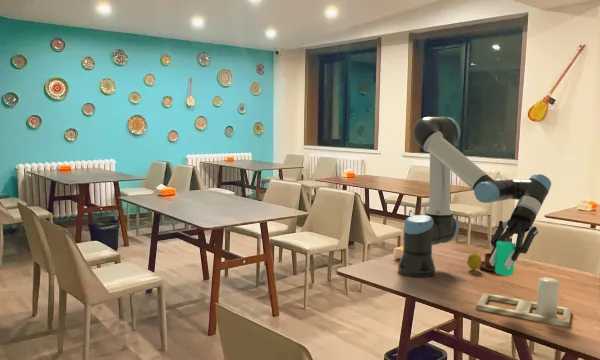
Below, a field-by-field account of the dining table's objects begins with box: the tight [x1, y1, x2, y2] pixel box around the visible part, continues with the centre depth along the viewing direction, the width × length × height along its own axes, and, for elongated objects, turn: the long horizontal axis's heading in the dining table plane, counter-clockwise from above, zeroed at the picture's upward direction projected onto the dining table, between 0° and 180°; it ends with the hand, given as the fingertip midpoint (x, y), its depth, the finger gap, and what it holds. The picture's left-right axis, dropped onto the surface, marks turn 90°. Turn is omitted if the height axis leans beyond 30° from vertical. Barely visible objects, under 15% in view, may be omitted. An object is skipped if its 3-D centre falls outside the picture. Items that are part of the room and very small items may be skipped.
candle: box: [494, 240, 516, 276], centre depth 173 cm, size 6×6×12 cm
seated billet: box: [535, 277, 560, 318], centre depth 167 cm, size 6×6×12 cm
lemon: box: [467, 251, 482, 271], centre depth 215 cm, size 6×6×8 cm
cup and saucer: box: [479, 252, 495, 272], centre depth 218 cm, size 12×12×6 cm
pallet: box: [475, 292, 572, 328], centre depth 171 cm, size 28×14×2 cm, turn 60°
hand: (499, 265), depth 171 cm, fingers closed on candle, 5 cm apart
